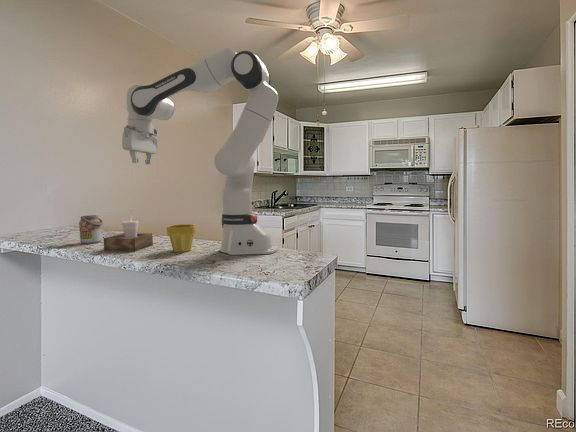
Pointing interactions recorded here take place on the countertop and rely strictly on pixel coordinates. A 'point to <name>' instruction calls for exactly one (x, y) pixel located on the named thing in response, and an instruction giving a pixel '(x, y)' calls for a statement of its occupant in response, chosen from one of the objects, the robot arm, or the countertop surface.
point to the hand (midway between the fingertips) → (142, 163)
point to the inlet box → (128, 242)
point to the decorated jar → (90, 229)
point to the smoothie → (130, 228)
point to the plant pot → (181, 236)
